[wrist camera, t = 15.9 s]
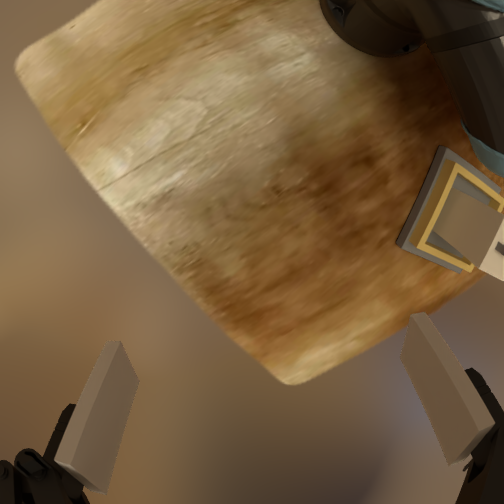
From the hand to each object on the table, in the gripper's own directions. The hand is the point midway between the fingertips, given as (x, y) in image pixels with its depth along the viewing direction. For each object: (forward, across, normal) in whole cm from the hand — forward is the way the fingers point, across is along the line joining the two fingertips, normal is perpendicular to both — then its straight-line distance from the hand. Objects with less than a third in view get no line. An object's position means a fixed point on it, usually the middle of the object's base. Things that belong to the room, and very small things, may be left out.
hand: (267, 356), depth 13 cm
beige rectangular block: (+27, +30, -5) cm, 40 cm away
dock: (+29, +30, -5) cm, 42 cm away
